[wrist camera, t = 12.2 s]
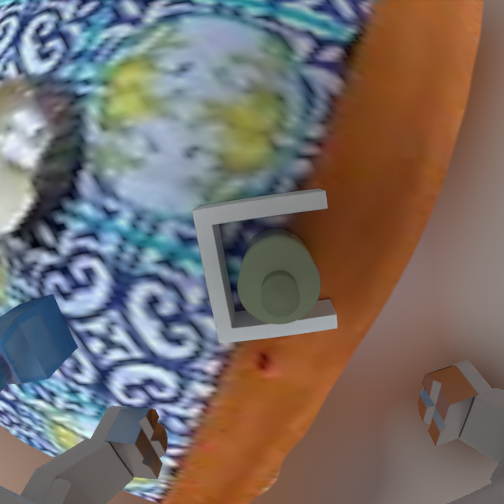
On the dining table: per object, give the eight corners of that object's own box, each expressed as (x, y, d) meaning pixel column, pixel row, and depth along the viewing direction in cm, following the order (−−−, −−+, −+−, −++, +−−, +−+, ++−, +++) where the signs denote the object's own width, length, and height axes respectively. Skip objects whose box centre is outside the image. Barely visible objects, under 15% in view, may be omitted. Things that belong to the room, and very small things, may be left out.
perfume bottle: (53, 293, 27) (-24, 349, 16) (77, 347, 29) (15, 415, 17) (19, 304, 28) (-51, 353, 16) (42, 352, 29) (-17, 411, 18)
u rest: (200, 205, 25) (192, 210, 22) (318, 188, 24) (325, 191, 21) (224, 325, 27) (219, 343, 24) (330, 311, 26) (337, 328, 24)
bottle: (238, 233, 25) (226, 262, 17) (304, 223, 25) (322, 248, 17) (249, 294, 26) (242, 344, 19) (311, 285, 26) (329, 333, 18)
